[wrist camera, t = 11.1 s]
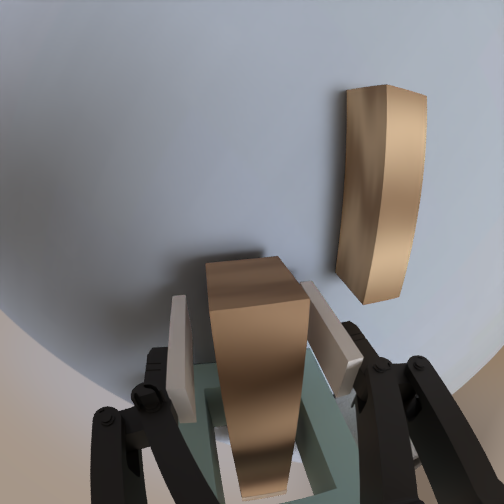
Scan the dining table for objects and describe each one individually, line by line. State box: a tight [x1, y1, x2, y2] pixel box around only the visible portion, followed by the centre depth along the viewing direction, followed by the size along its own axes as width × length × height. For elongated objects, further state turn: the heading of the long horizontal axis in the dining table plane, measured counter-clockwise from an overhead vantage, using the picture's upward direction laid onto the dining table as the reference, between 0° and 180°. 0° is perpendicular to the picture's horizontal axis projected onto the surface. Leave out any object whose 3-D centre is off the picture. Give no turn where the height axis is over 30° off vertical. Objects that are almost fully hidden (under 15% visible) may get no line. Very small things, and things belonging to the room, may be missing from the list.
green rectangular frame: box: [178, 348, 360, 504], centre depth 16 cm, size 6×11×14 cm, turn 91°
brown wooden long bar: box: [206, 256, 310, 501], centre depth 17 cm, size 22×4×5 cm, turn 1°
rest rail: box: [335, 84, 427, 305], centre depth 15 cm, size 12×3×4 cm, turn 1°
